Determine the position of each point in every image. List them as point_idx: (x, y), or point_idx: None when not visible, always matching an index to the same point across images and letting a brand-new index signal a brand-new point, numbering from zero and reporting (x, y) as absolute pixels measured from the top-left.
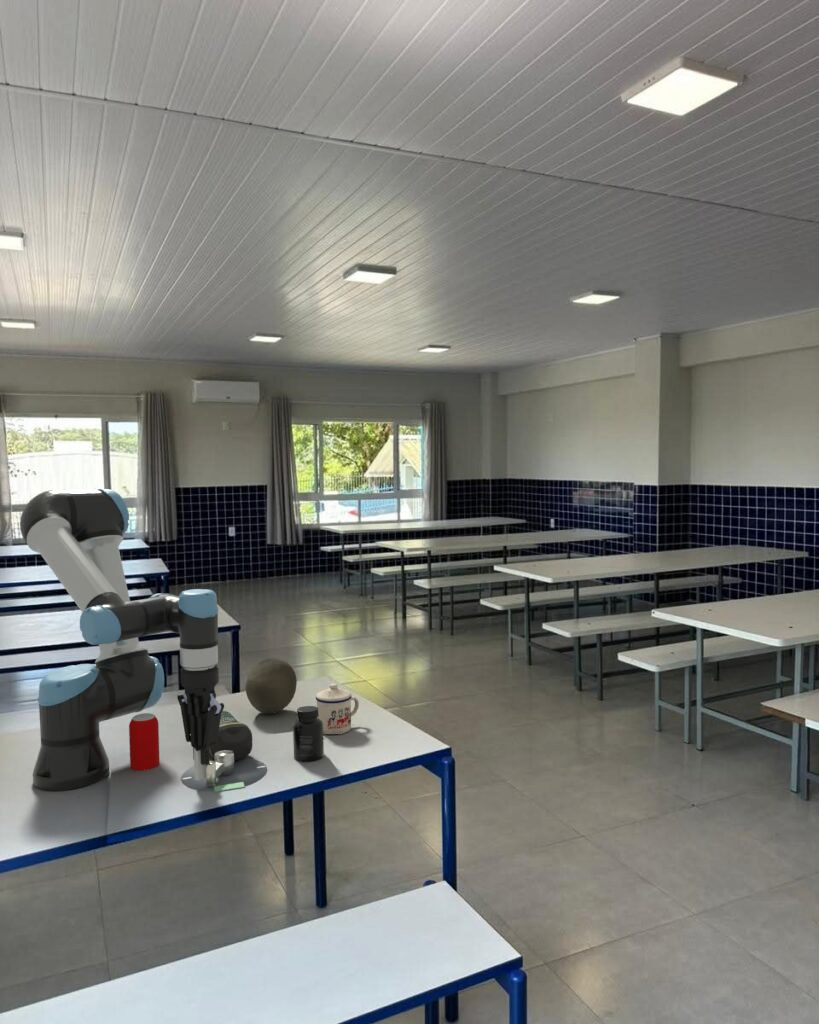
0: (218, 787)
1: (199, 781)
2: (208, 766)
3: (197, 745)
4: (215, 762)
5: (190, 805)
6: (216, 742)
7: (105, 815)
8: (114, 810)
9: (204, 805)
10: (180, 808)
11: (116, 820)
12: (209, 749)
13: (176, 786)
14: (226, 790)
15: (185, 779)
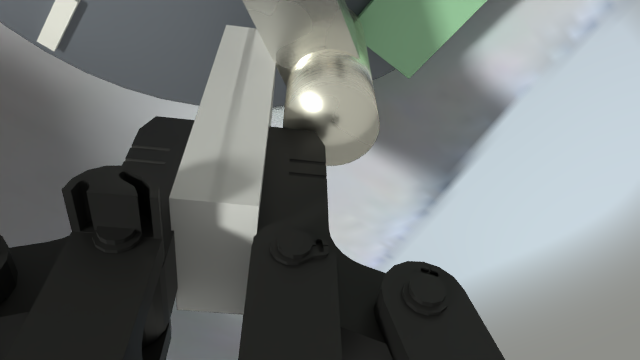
0: (393, 26)
1: (174, 4)
2: (347, 157)
3: (171, 294)
4: (360, 93)
5: (351, 184)
6: (475, 318)
7: None
8: None
9: (419, 154)
10: (332, 220)
11: (201, 352)
12: (328, 231)
13: (64, 69)
14: (467, 16)
15: (63, 34)
